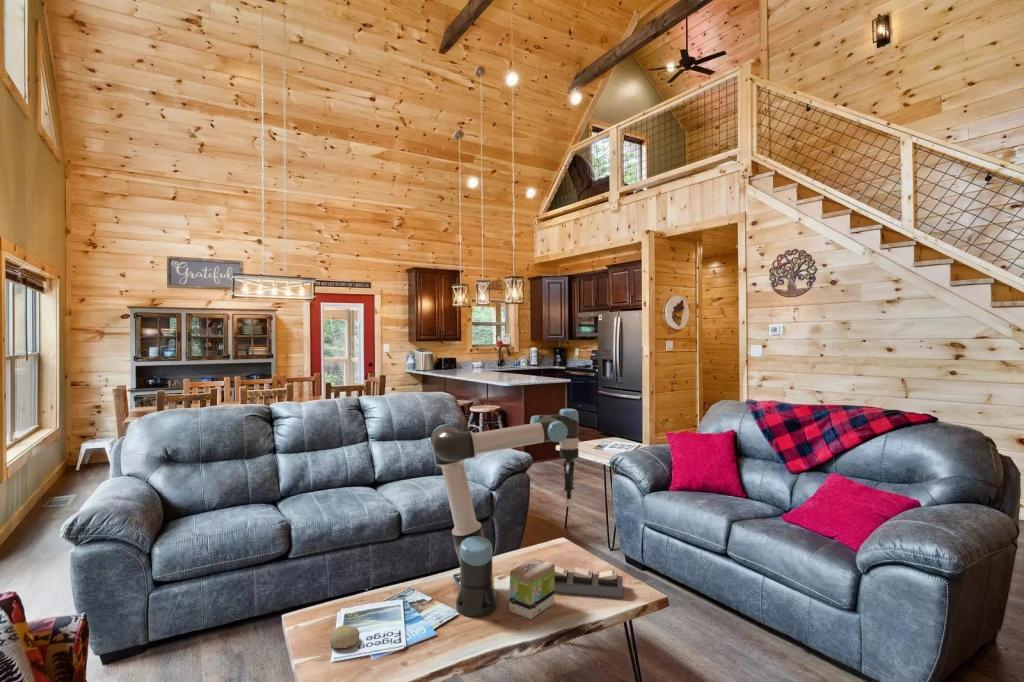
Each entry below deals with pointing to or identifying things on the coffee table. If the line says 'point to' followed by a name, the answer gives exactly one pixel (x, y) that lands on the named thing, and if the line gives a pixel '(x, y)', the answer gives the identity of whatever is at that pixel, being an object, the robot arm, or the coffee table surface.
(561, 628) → the coffee table surface
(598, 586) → the rocker switch panel
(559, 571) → the rocker
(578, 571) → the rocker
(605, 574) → the rocker
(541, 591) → the tea box
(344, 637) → the brown kiwi fruit
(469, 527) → the robot arm
